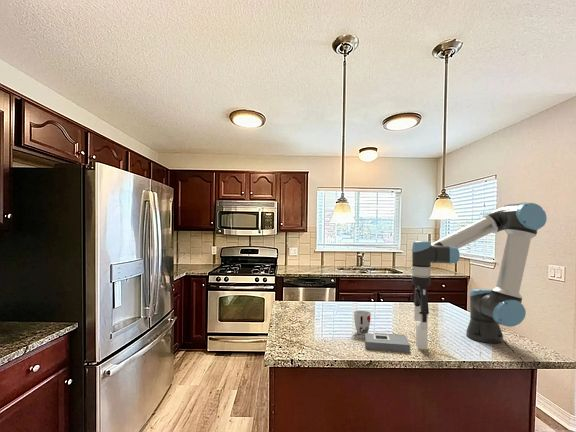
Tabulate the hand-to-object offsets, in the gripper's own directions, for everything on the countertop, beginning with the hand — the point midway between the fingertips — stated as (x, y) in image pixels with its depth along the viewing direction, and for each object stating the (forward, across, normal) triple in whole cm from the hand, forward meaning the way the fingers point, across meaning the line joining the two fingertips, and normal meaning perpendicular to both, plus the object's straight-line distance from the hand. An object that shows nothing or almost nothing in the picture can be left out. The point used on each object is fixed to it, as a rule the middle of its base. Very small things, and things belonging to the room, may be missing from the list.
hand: (420, 325), depth 144 cm
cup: (+10, -15, -24) cm, 30 cm away
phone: (+10, -11, -11) cm, 19 cm away
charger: (+10, 0, +1) cm, 10 cm away
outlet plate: (+10, +1, -14) cm, 17 cm away
